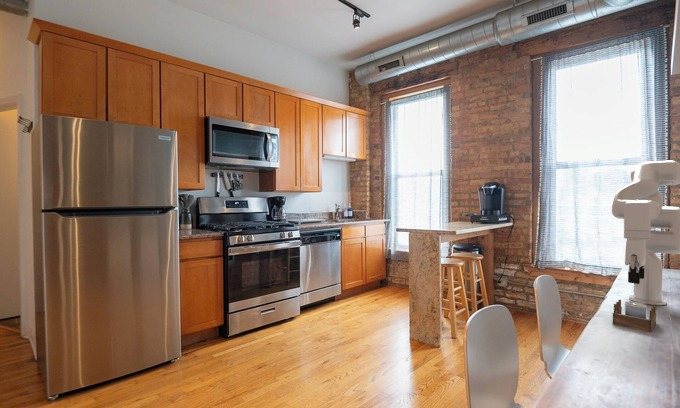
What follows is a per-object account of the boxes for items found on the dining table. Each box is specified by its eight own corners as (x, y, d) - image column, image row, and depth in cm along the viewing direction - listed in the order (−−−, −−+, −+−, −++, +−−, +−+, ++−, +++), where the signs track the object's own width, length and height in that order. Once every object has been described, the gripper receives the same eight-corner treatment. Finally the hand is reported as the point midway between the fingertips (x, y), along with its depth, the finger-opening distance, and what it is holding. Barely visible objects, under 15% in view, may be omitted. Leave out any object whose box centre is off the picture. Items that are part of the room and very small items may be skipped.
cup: (626, 318, 135) (626, 300, 135) (647, 322, 131) (647, 303, 131) (623, 322, 131) (623, 303, 131) (644, 326, 127) (645, 307, 127)
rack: (619, 316, 138) (619, 298, 137) (656, 323, 130) (656, 304, 129) (612, 323, 130) (612, 305, 129) (651, 332, 122) (651, 312, 121)
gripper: (628, 231, 139) (627, 274, 140) (619, 236, 127) (618, 283, 128) (653, 233, 133) (653, 278, 134) (646, 238, 122) (645, 287, 122)
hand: (636, 280), depth 131 cm, fingers open, 9 cm apart
